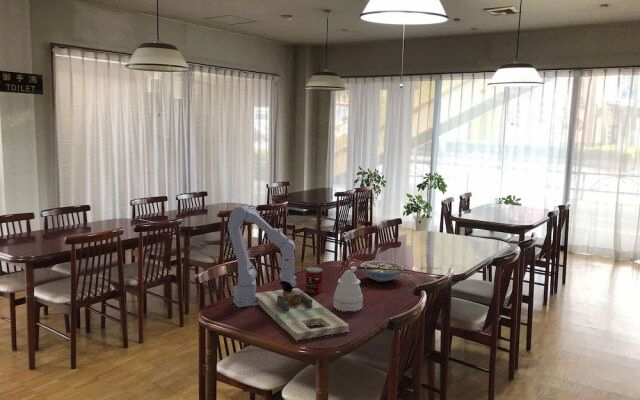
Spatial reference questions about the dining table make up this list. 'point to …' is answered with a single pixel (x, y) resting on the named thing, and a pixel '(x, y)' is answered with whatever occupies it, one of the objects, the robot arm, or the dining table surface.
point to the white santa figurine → (348, 292)
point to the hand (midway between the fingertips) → (287, 297)
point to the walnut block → (292, 297)
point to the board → (300, 315)
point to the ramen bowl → (381, 270)
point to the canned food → (314, 280)
